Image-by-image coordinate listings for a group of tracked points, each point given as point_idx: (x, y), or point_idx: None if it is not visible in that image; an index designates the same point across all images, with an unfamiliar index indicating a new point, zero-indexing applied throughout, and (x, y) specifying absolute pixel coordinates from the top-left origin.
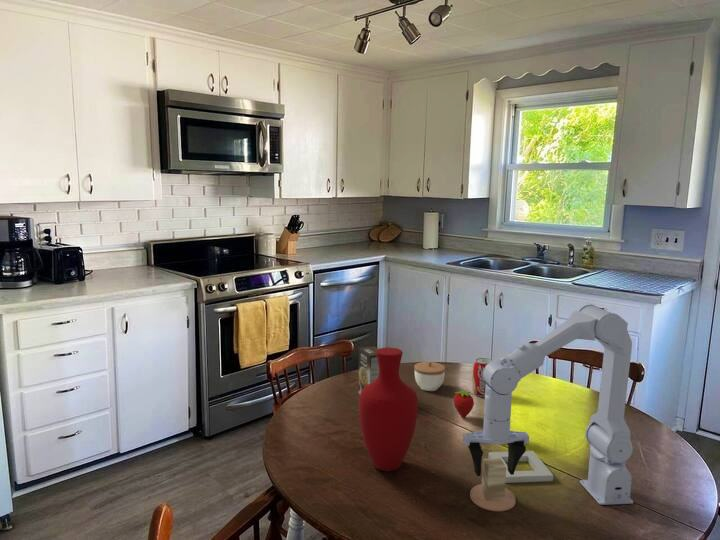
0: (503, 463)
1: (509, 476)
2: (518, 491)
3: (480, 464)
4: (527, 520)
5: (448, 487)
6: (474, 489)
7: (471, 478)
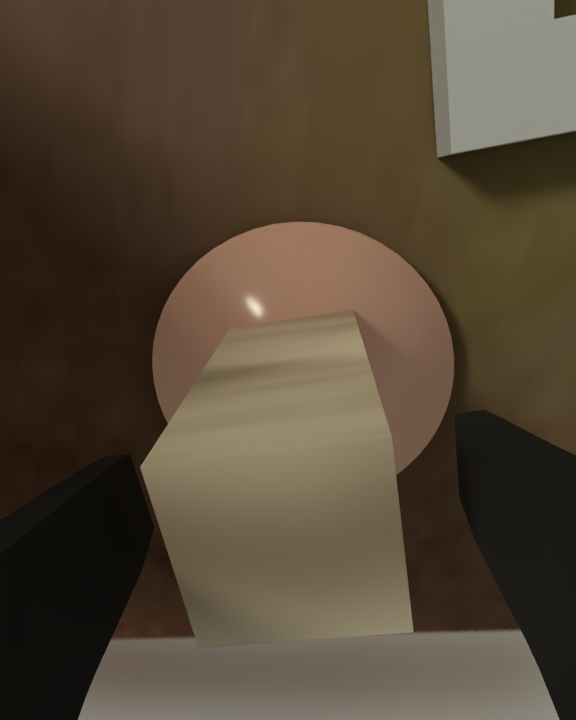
0: (401, 563)
1: (498, 138)
2: (509, 272)
3: (88, 673)
4: (454, 551)
5: (11, 268)
6: (182, 312)
7: (174, 113)
